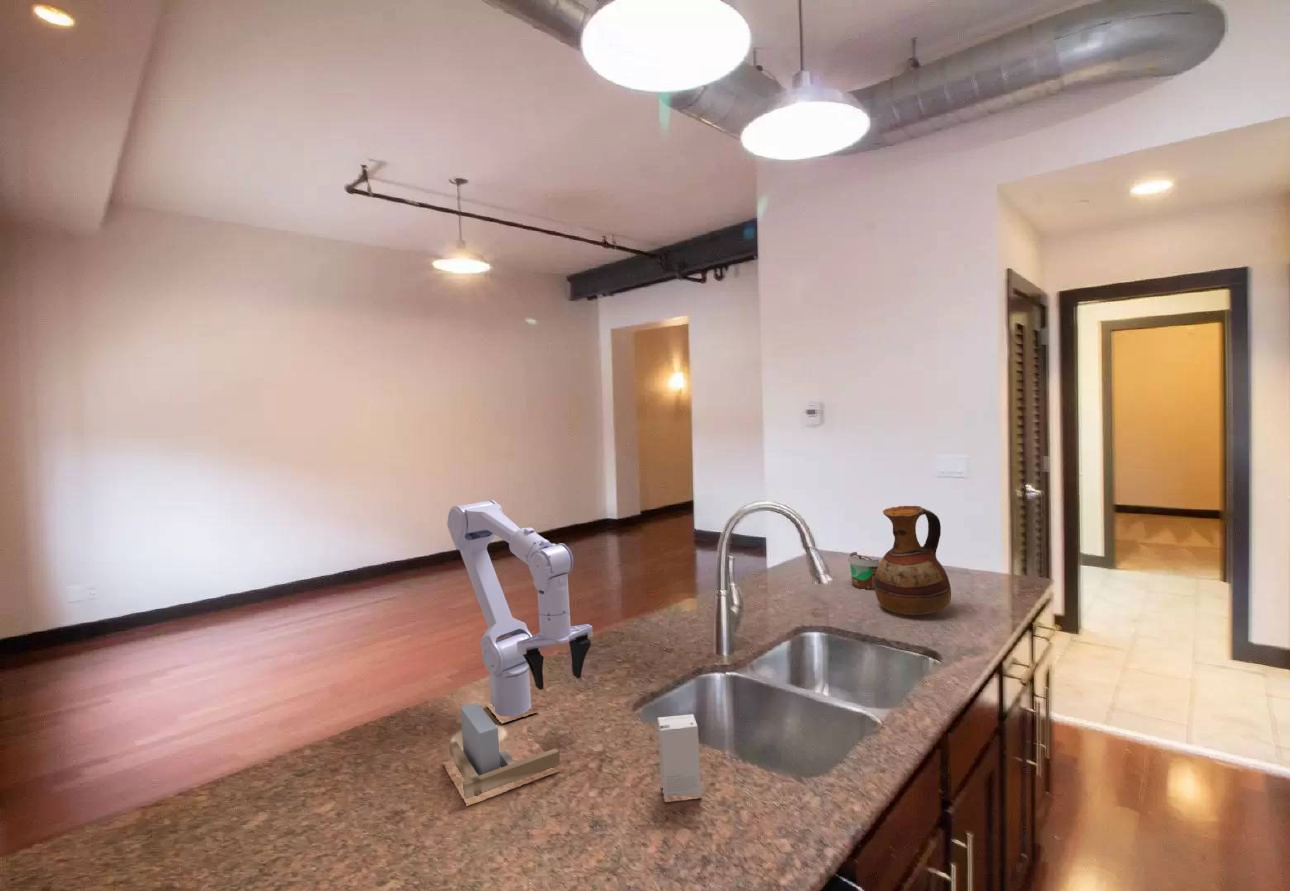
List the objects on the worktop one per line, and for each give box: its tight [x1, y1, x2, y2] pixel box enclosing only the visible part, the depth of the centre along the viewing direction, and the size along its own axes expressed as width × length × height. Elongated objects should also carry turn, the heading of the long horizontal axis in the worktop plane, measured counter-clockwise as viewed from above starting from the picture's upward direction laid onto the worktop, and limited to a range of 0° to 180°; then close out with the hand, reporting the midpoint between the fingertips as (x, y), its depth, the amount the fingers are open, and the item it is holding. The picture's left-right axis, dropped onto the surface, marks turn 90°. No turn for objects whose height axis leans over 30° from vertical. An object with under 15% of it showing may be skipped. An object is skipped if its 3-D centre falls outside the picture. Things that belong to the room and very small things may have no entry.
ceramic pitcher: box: [874, 505, 952, 615], centre depth 178 cm, size 20×20×30 cm
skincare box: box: [656, 713, 702, 798], centre depth 99 cm, size 6×4×12 cm
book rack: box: [448, 740, 561, 799], centre depth 108 cm, size 14×16×4 cm
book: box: [460, 701, 500, 776], centre depth 107 cm, size 11×3×9 cm, turn 32°
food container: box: [847, 551, 880, 591], centre depth 201 cm, size 12×6×10 cm, turn 17°
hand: (558, 681), depth 117 cm, fingers open, 7 cm apart
